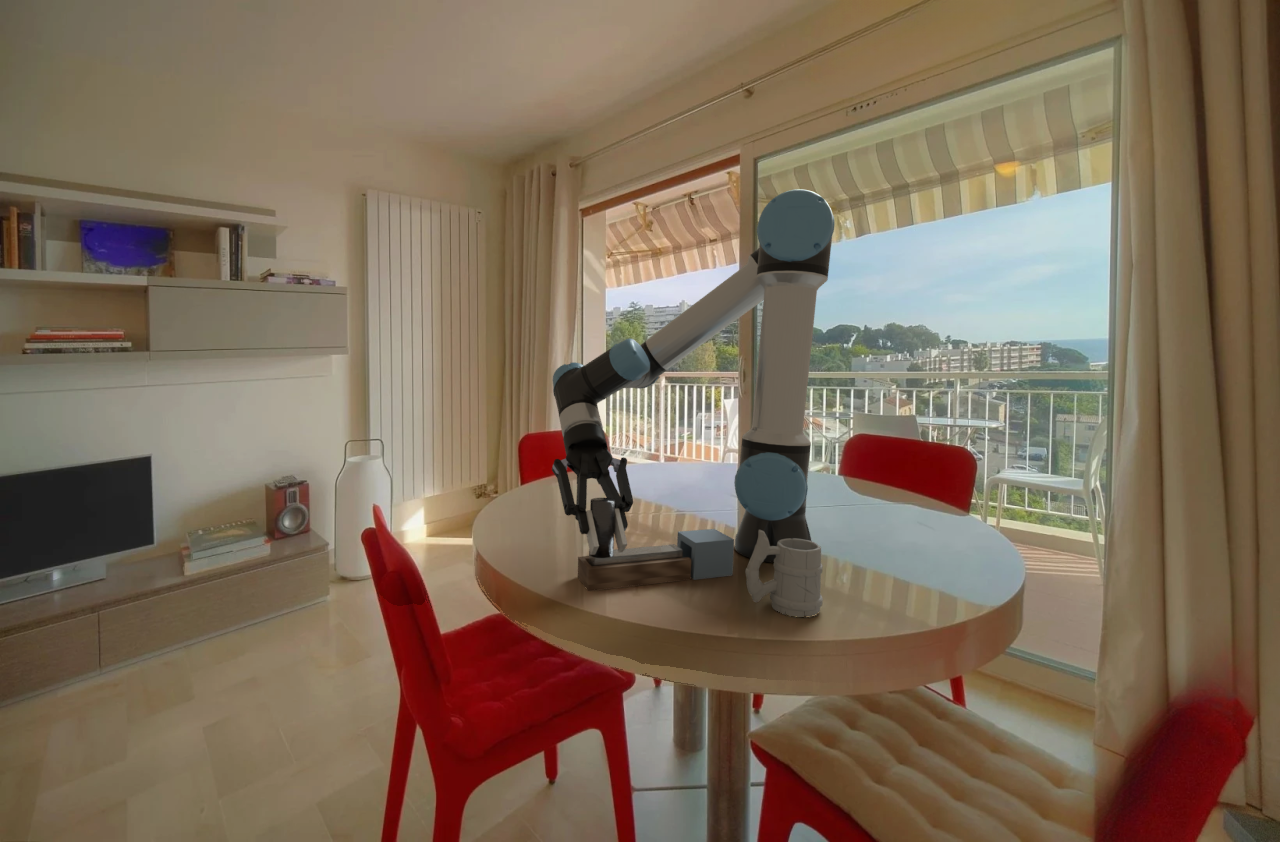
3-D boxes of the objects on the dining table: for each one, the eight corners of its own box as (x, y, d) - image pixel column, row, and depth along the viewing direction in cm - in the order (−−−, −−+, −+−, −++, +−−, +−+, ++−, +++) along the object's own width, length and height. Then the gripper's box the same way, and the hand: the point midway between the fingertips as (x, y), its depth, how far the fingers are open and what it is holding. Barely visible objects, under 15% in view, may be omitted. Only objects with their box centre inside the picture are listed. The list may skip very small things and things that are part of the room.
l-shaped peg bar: (672, 562, 99) (675, 493, 98) (682, 570, 95) (685, 498, 94) (585, 571, 93) (587, 498, 92) (592, 580, 89) (594, 503, 88)
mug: (831, 618, 81) (836, 537, 80) (753, 620, 79) (757, 538, 78) (808, 597, 89) (812, 523, 88) (736, 599, 87) (740, 523, 86)
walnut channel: (674, 567, 101) (675, 548, 100) (690, 579, 95) (691, 559, 94) (577, 577, 94) (578, 556, 94) (588, 591, 88) (588, 569, 88)
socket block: (712, 562, 104) (714, 528, 103) (732, 575, 97) (734, 539, 97) (676, 566, 101) (677, 531, 101) (693, 579, 95) (695, 542, 94)
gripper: (621, 445, 108) (651, 555, 94) (533, 447, 102) (551, 565, 88) (632, 420, 103) (665, 533, 89) (539, 420, 96) (560, 541, 82)
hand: (608, 549), depth 88 cm, fingers closed on l-shaped peg bar, 4 cm apart
